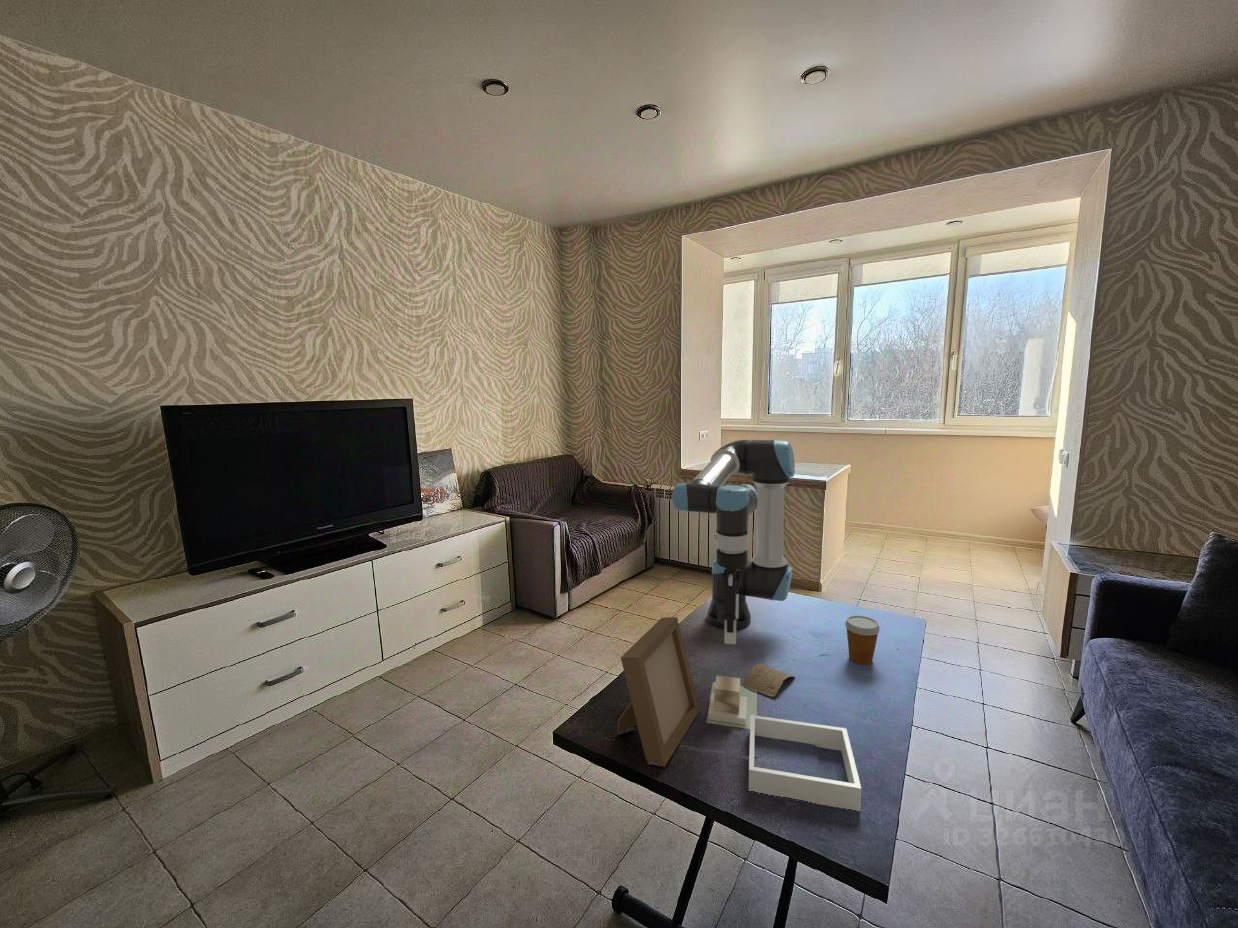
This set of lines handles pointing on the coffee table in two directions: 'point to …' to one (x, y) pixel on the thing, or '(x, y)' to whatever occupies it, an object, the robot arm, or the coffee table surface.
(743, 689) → the mat
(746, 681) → the clay tablet
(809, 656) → the coffee table surface
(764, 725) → the white open rectangular frame
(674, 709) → the photo frame
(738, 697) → the block
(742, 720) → the tile
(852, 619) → the disposable coffee cup
